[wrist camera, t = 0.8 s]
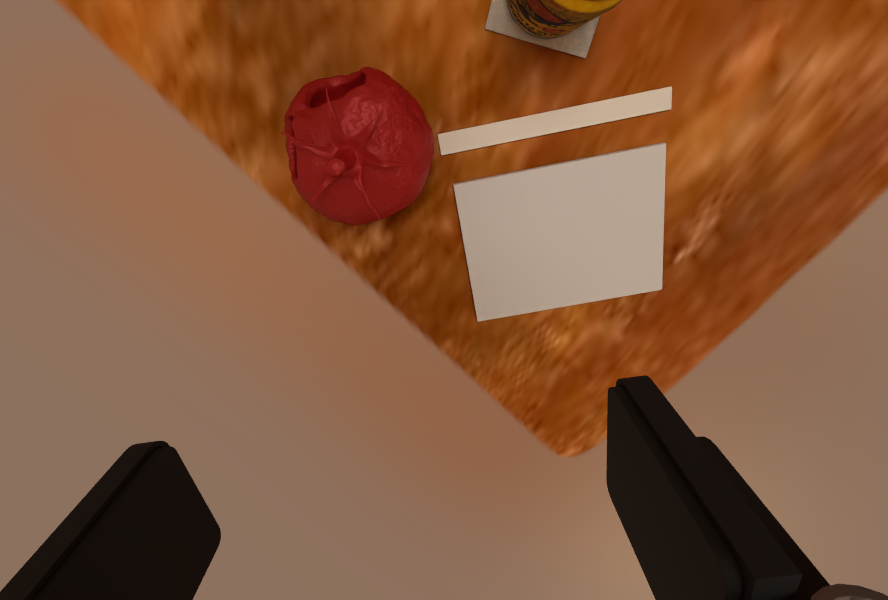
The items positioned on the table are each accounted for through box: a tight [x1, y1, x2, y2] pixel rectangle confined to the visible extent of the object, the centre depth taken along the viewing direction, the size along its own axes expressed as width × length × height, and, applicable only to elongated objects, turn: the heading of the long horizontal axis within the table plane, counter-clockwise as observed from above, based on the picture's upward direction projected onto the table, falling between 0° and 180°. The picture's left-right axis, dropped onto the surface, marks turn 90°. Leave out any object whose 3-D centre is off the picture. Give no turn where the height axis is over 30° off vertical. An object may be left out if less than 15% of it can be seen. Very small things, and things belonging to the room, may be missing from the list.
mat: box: [453, 143, 666, 322], centre depth 35 cm, size 12×16×1 cm
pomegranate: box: [282, 67, 434, 225], centre depth 28 cm, size 10×10×9 cm
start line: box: [438, 87, 672, 155], centre depth 31 cm, size 2×17×1 cm, turn 101°
